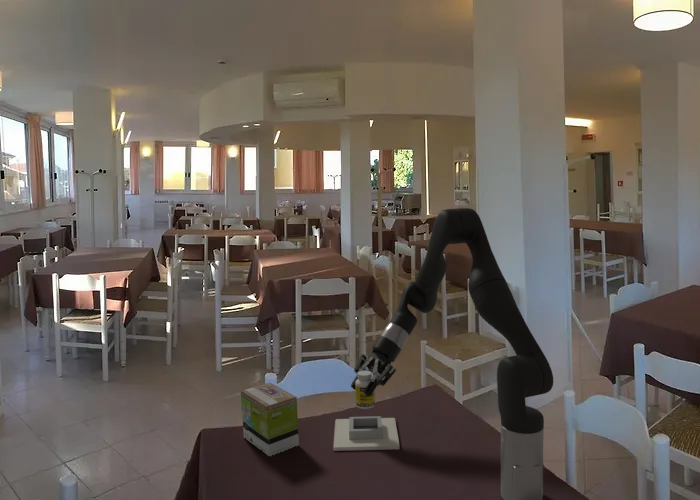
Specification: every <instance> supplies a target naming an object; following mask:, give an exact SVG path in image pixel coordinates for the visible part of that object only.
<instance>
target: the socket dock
mask: <svg viewBox="0 0 700 500" xmlns="http://www.w3.org/2000/svg"><path fill="white" fill-rule="evenodd" d="M399 440H400V439H399V435H398V429H397V422H396V418H395V417H382V416H381V415H379V416H377V415H376V416H375V415H374V416H372V415H371V416H370V415H369V416H349V418H336V419H335V422H334V435H333V451H334V452H338V451H339V452H341V451H343V452H344V451H377V450H378V451H379V450H380V451H381V450H382V451H383V450H384V451H385V450H386V451H387V450H401V449H400V441H399Z"/></svg>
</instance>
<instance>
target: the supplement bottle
mask: <svg viewBox="0 0 700 500" xmlns="http://www.w3.org/2000/svg"><path fill="white" fill-rule="evenodd" d="M356 376H357V375H356ZM357 377H358V379H357V380H356V382H355V388H356V390H355V405H356V407H357V408H358V409H361V410H368V409H372V408H374V407H375V397H376V396H375V391H374V392H373V393H372V394H371V395H370V396H367V395H366V394H364V391H365V389H366V387H367V386H368V384H369V383H370V381H371V382H372V377H373V373H371V372H370V371H360V372H358V376H357Z"/></svg>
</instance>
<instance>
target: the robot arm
mask: <svg viewBox="0 0 700 500" xmlns="http://www.w3.org/2000/svg"><path fill="white" fill-rule="evenodd" d="M483 224H484V223H483V221H482V219H481V217H480V216H479V214H478V213H477V211H476V210H475V209H474V208H470V207H466V208H464V207H463V208H462V207H461V208H446V209H443V210H441V211H439V212H438V214H437V215H436V218H435V220H434V223H433V226H432V230H431V234H430V238H429V241H428V246H427V250H426V254H425V258H424V260H423V262H422V264H421V266H420V269H419V270H418V273H417V275H416V277H415V281H413V280H412V281H409V282H408V283H406V285H404V287H403V289H402V293H401V296H400V297H401V298H400V300H399V303H398V307H397V309H396V311H395V312H394V314H393V316H392V317H391V319H390V320H389V322H388V323H387V325H386V326H385V327H384V328H383V330H382V332H381V333H380V334H379V337H378V338H377V340H376V341H375V342H374V344H373V345H372V347H371V349H372V352H371V353H370V354H368V355H365V354H364V353H362V354H361V355H360V357H359V359H358V360H357V363H356V365H355V368H354V370H353V371H354V373H355V374H356V376H355V378H354V379H353V380H352V383H351V384H350V387H351V389H353V390H355V391H356V388H355V382H356V380H357V379H358V377H357V376H358V372H360V371H370V372H371V374H372V378H371V379H372V382H371V381H370V383H369V384H368V386H367V387H366V389H365V391H364V394H366V395H367V396H370V395H371V394H372V393H373V392H374V393H375V390H376V388H377V387H378V386H385V385H386V384H387V382H388V381H389V380H390V379H391V377H393V375H394V374H395V373H396V370H397V369H396V368H395V367H394V366H393V365H392V363H394V362H395V361H396V359H397V358H398V356H399V354H400V353H401V351H402V350H403V348H404V347H405V345H406V343H407V341H408V338H409V337H410V335H411V333H412V332H413V330H414V329H415V327H416V325H417V324H418V318H417V316H416V315H415V314H414V313H412V311H411V310H410V309H409V307H408V305H409V306H411V307H412V308H414V309H415V310H417V311H419V312H420V313H422V314H427V313H430V312H432V311H433V310H434V309H435V306H436V303H437V301H438V290H439V287H440V285H441V283H442V281H443V279H444V277H445V275H446V273H447V267H448V266H447V261H446V258H445V255H444V251H445V250H446V248H447V246H448V245H459V244H466V245H467V247H468V249H469V251H470V255H471V258H472V264H471V268H470V271H469V272H470V273H469V277H468V284H467V287H468V293H469V296H470V298H471V300H472V302H473V305H474V307H475V310H476V311H477V312H476V313H478V314H479V316H480V317H481V318H482V319H483V320H484V321H485V322H486V323H487V324H488V325H490V327H492V328H493V329H494V330H496V331H497V332H498V333H499V334H500V335H502V337H504V338H505V339H506V341H507V342H508V343H509V344H510V347H512V349H513V351H514V352H515V355H512V356H506V357H503V358H501V360H500V361H499V363H498V365H497V368H496V386H497V387H496V388H497V405H498V406H497V407H498V412H499V414H500V496H501V498H502V499H503V500H543V499H544V497H543V496H544V433H545V432H544V431H545V430H544V427H545V421H544V420H545V418H544V414H543V413H542V412H541V411H540V410H538V409H536V408H534V407H532V406H528V405H527V404H526V398H530V397H535V396H539V395H545V394H547V393H549V392H551V390H552V388H553V387H554V375H553V371H552V367H551V365H550V363H549V360H548V359H547V357H546V355H545V353H544V351H543V350H542V348H541V346H540V345H539V343H538V342H537V340H536V338H535V337H534V336H533V333H532V332H531V330H530V328H529V327H528V324H527V323H526V321H525V318H524V316H523V314H522V313H521V311H520V309H519V306H518V304H517V302H516V300H515V297H514V295H513V293H512V291H511V289H510V287H509V285H508V283H507V281H506V278H505V276H504V275H503V272H502V270H501V269H500V266H499V264H498V262H497V259H496V257H495V255H494V253H493V250H492V248H491V245H490V242H489V239H488V236H487V233H486V231H485V227H484V225H483Z"/></svg>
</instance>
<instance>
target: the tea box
mask: <svg viewBox="0 0 700 500" xmlns="http://www.w3.org/2000/svg"><path fill="white" fill-rule="evenodd" d="M297 398H298V397H297V396H295V395H294V394H292V393H290V392H288V391H286V390H285V389H283V388H281V387H278V386H277V385H275V384H274V383H272V382H267V383H263V384H259V385H258V386H256V385H255V386H253V387H250V388H247V389H244V390H240V402H241V413H242V414H241V415H242V418H241V419H242V430H243V432H242V433H243V438H244V439H245V438H246V441H248V442H249V443H251V444H252V445H253V446H255V447H256V448H257V449H259V450H260V451H261V450H262V451H261V452H263V453H264V454H266V456H267V457H269V456H270V457H272V455H273V456H275V454H276V455H278V454H281V453H283V452H286V451H288V449H289V450H291V449H293V447H294V448H296V447H298V446H299V445H300V442H299V441H300V438H299V421H298V399H297ZM295 446H296V447H295ZM290 448H291V449H290ZM285 450H286V451H285ZM280 452H281V453H280ZM277 453H278V454H277Z"/></svg>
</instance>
